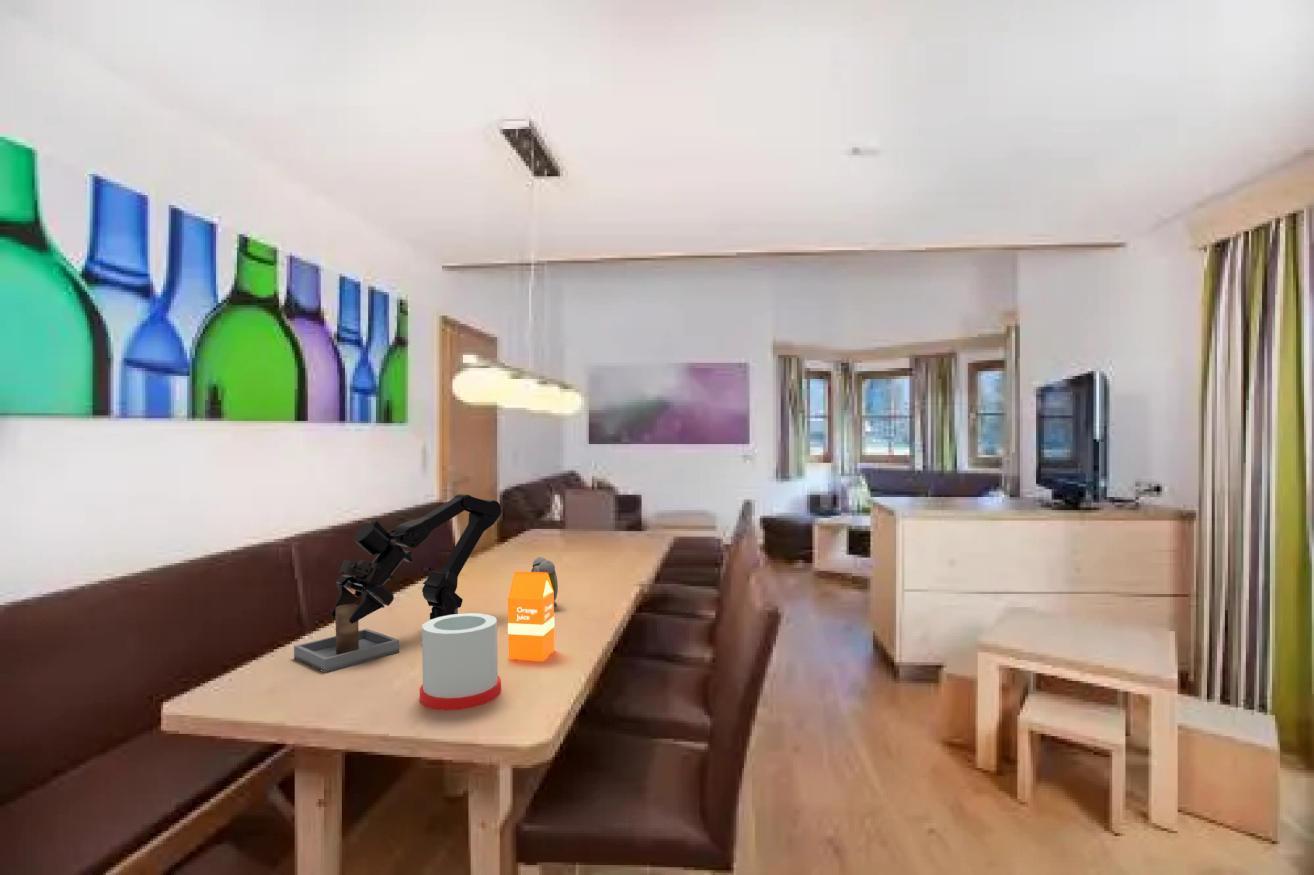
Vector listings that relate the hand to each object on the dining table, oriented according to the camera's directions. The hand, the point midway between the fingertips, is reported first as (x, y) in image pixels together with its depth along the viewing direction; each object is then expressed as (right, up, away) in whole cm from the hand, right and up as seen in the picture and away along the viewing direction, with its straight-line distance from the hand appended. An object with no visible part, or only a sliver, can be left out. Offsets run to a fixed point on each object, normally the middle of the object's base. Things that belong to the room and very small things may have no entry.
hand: (341, 619), depth 162 cm
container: (+36, -9, -24) cm, 44 cm away
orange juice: (+46, -9, 0) cm, 47 cm away
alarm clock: (+42, -8, +44) cm, 62 cm away
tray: (+1, -9, +1) cm, 9 cm away
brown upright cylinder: (+1, -8, +1) cm, 8 cm away
